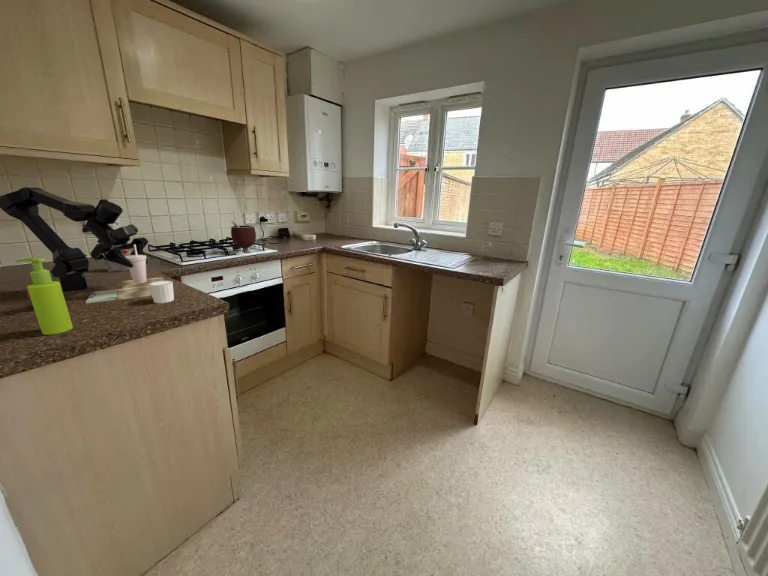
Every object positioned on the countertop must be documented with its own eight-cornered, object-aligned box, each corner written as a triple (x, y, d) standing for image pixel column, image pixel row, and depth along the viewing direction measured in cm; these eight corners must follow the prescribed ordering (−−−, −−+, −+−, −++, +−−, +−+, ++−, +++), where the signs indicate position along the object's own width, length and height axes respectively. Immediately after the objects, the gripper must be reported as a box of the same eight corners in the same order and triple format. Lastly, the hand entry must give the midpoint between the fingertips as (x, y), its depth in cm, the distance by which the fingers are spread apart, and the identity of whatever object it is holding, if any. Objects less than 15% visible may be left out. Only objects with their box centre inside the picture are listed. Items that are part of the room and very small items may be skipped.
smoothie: (146, 284, 112) (138, 245, 108) (125, 284, 110) (117, 246, 106) (154, 279, 118) (147, 243, 114) (134, 280, 116) (126, 243, 112)
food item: (145, 267, 156) (141, 247, 153) (143, 270, 149) (138, 250, 146) (110, 269, 149) (105, 249, 146) (106, 273, 142) (101, 252, 140)
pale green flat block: (86, 304, 102) (84, 300, 102) (94, 294, 113) (93, 290, 112) (117, 300, 107) (116, 296, 106) (122, 291, 117) (121, 287, 116)
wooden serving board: (118, 301, 107) (115, 290, 106) (123, 291, 117) (121, 281, 116) (163, 295, 113) (161, 285, 112) (165, 286, 124) (163, 277, 123)
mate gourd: (262, 252, 197) (259, 221, 192) (246, 256, 185) (242, 222, 179) (243, 251, 203) (240, 220, 197) (226, 254, 190) (222, 221, 184)
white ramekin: (180, 300, 109) (177, 281, 107) (161, 306, 103) (157, 286, 101) (166, 297, 111) (163, 279, 109) (147, 303, 105) (143, 284, 103)
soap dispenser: (52, 326, 86) (29, 256, 81) (78, 325, 87) (58, 256, 81) (31, 335, 81) (5, 260, 75) (59, 334, 81) (36, 260, 76)
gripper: (89, 219, 99) (128, 255, 101) (139, 215, 116) (171, 246, 119) (73, 242, 102) (112, 276, 104) (124, 235, 119) (156, 265, 122)
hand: (140, 264), depth 112 cm, fingers closed on smoothie, 6 cm apart
